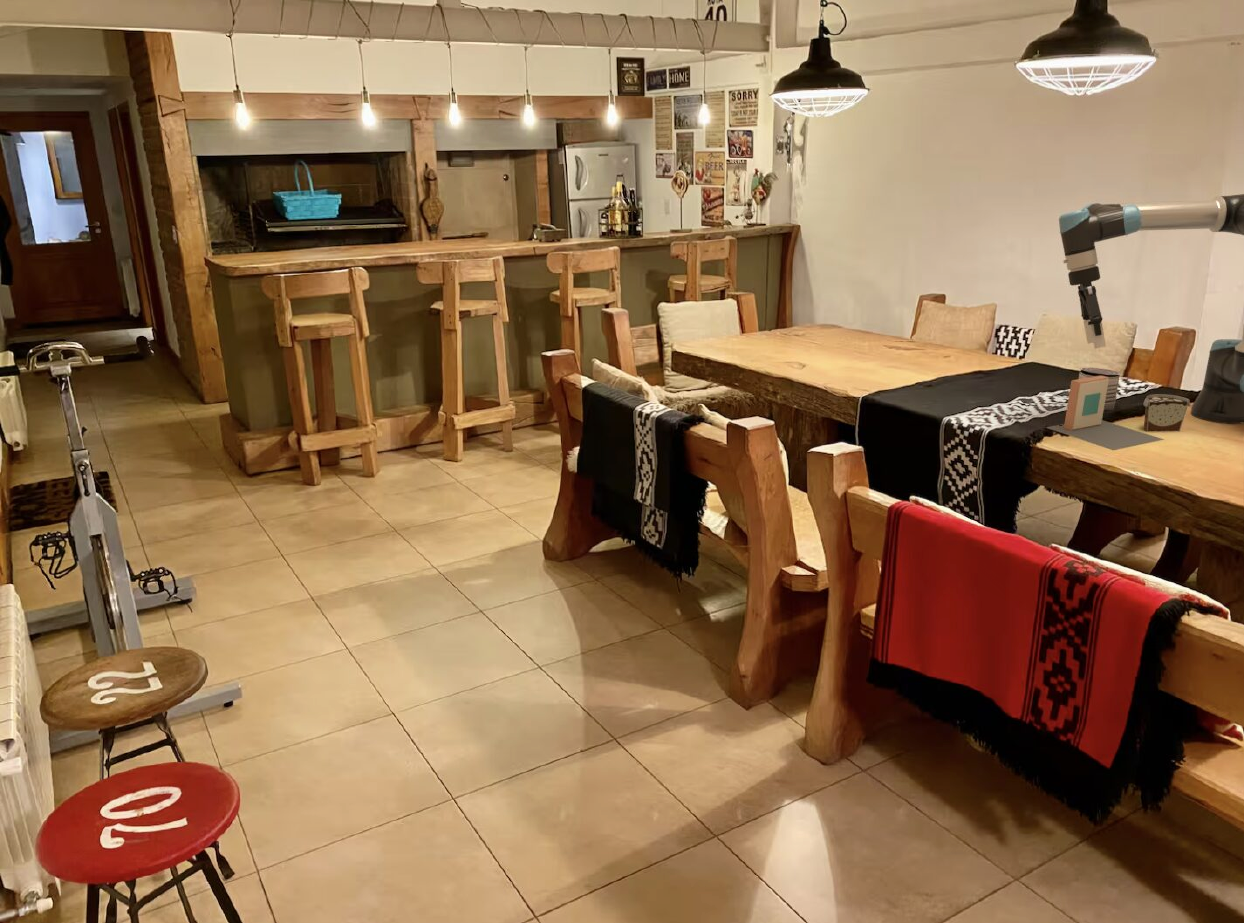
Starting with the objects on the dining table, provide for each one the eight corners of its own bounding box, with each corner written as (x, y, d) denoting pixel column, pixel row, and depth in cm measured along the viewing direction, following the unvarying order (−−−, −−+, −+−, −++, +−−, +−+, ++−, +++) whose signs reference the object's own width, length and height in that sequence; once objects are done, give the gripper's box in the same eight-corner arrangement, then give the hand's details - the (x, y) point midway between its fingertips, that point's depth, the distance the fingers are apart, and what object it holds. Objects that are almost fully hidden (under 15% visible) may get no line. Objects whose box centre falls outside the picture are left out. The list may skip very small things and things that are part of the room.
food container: (1171, 426, 268) (1178, 393, 264) (1184, 433, 262) (1191, 399, 258) (1129, 427, 267) (1135, 394, 264) (1141, 434, 262) (1147, 400, 258)
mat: (1094, 420, 274) (1095, 418, 273) (1163, 442, 255) (1164, 439, 255) (1045, 430, 266) (1045, 427, 266) (1112, 452, 247) (1113, 450, 247)
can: (1065, 404, 290) (1071, 366, 286) (1093, 400, 294) (1099, 363, 289) (1094, 414, 280) (1101, 375, 276) (1123, 410, 283) (1130, 371, 279)
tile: (1093, 422, 270) (1101, 375, 265) (1102, 425, 267) (1110, 377, 262) (1063, 428, 265) (1071, 380, 260) (1072, 431, 262) (1080, 382, 257)
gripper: (1062, 270, 265) (1075, 343, 268) (1073, 273, 242) (1087, 352, 245) (1091, 263, 262) (1104, 337, 265) (1105, 265, 239) (1119, 346, 242)
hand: (1096, 345), depth 255 cm, fingers open, 13 cm apart
